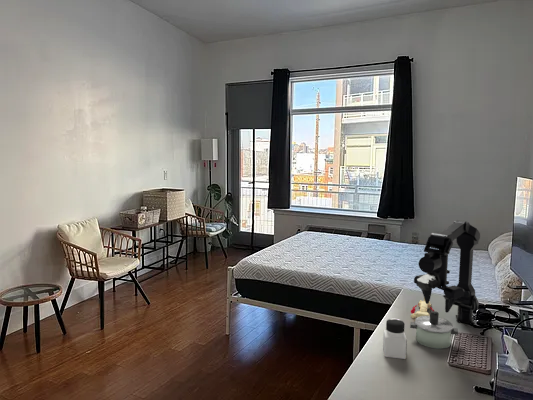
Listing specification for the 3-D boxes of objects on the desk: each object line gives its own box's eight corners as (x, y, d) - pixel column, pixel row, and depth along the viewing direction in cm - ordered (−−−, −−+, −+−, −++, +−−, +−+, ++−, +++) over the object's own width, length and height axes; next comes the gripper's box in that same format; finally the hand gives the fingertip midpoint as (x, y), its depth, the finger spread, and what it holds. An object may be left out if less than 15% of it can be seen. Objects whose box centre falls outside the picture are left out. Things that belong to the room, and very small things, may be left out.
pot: (410, 330, 157) (410, 316, 156) (455, 337, 151) (456, 322, 150) (409, 344, 146) (410, 328, 145) (458, 352, 140) (459, 335, 139)
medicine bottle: (406, 359, 135) (407, 325, 134) (384, 357, 137) (385, 324, 135) (403, 349, 142) (404, 317, 141) (382, 347, 144) (383, 315, 142)
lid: (415, 316, 156) (415, 304, 156) (451, 321, 152) (452, 308, 151) (414, 329, 144) (415, 316, 144) (454, 335, 140) (454, 322, 139)
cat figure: (413, 307, 185) (408, 323, 162) (414, 289, 184) (409, 302, 162) (436, 311, 181) (434, 328, 158) (437, 292, 180) (436, 306, 158)
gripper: (403, 263, 151) (402, 302, 153) (443, 277, 134) (440, 321, 136) (425, 260, 155) (424, 298, 157) (466, 273, 138) (464, 315, 140)
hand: (436, 307), depth 147 cm, fingers open, 9 cm apart
